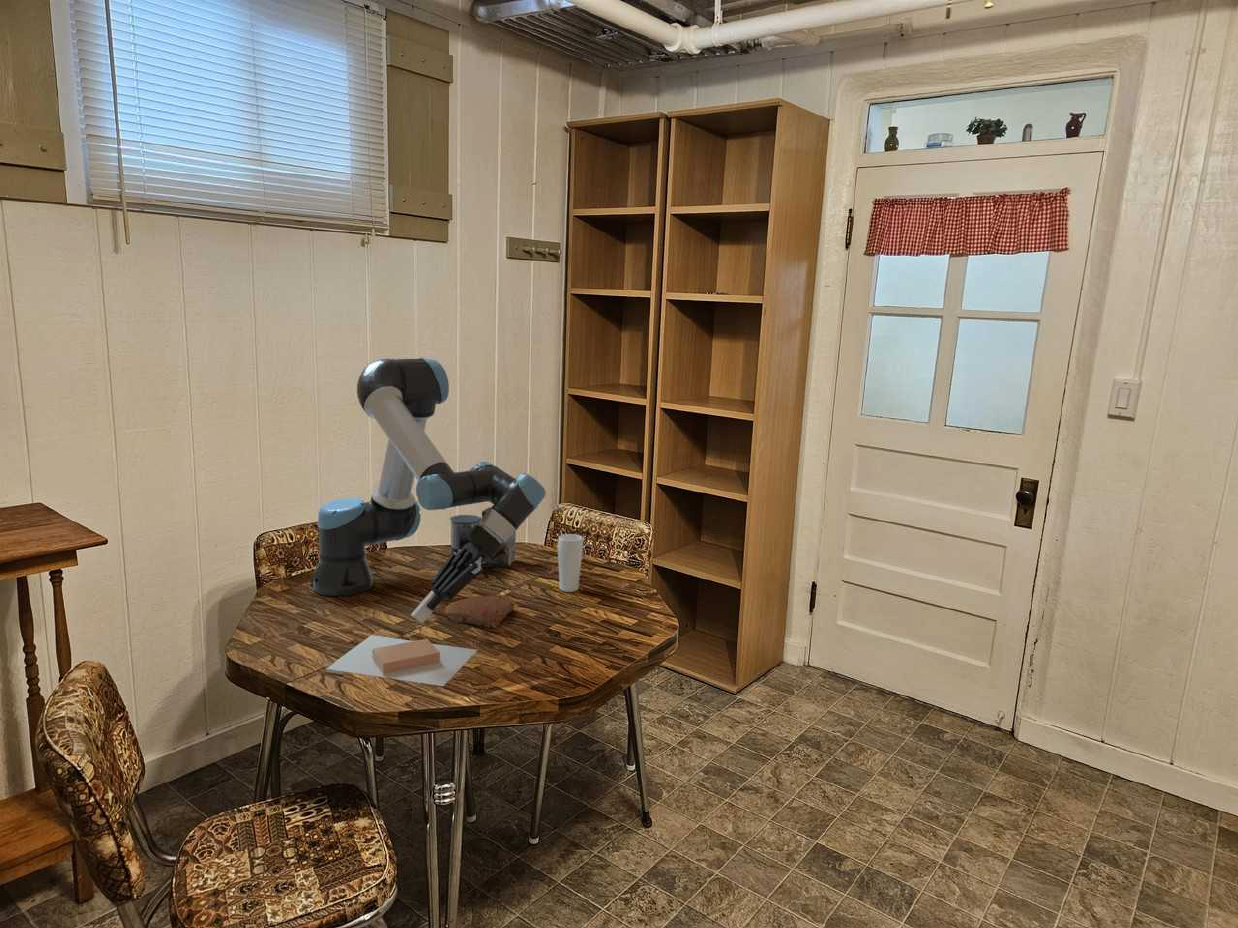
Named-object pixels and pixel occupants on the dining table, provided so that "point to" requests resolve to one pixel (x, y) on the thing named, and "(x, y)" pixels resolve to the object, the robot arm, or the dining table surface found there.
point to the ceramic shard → (480, 610)
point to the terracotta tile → (405, 656)
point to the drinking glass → (569, 561)
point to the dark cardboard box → (503, 549)
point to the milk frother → (459, 534)
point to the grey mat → (431, 674)
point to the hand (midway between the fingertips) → (416, 618)
